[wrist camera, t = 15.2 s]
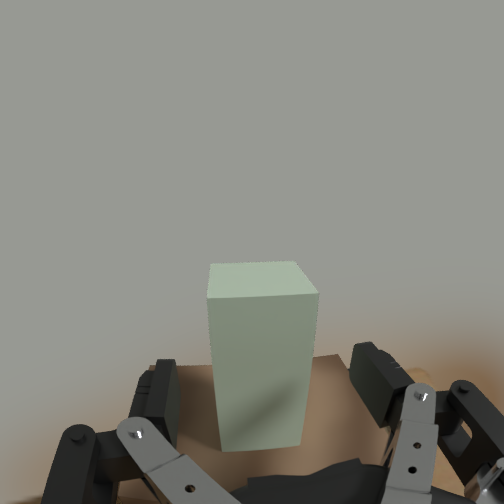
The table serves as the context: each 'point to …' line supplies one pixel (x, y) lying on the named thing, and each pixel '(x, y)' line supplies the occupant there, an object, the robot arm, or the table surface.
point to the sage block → (261, 352)
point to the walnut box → (278, 459)
